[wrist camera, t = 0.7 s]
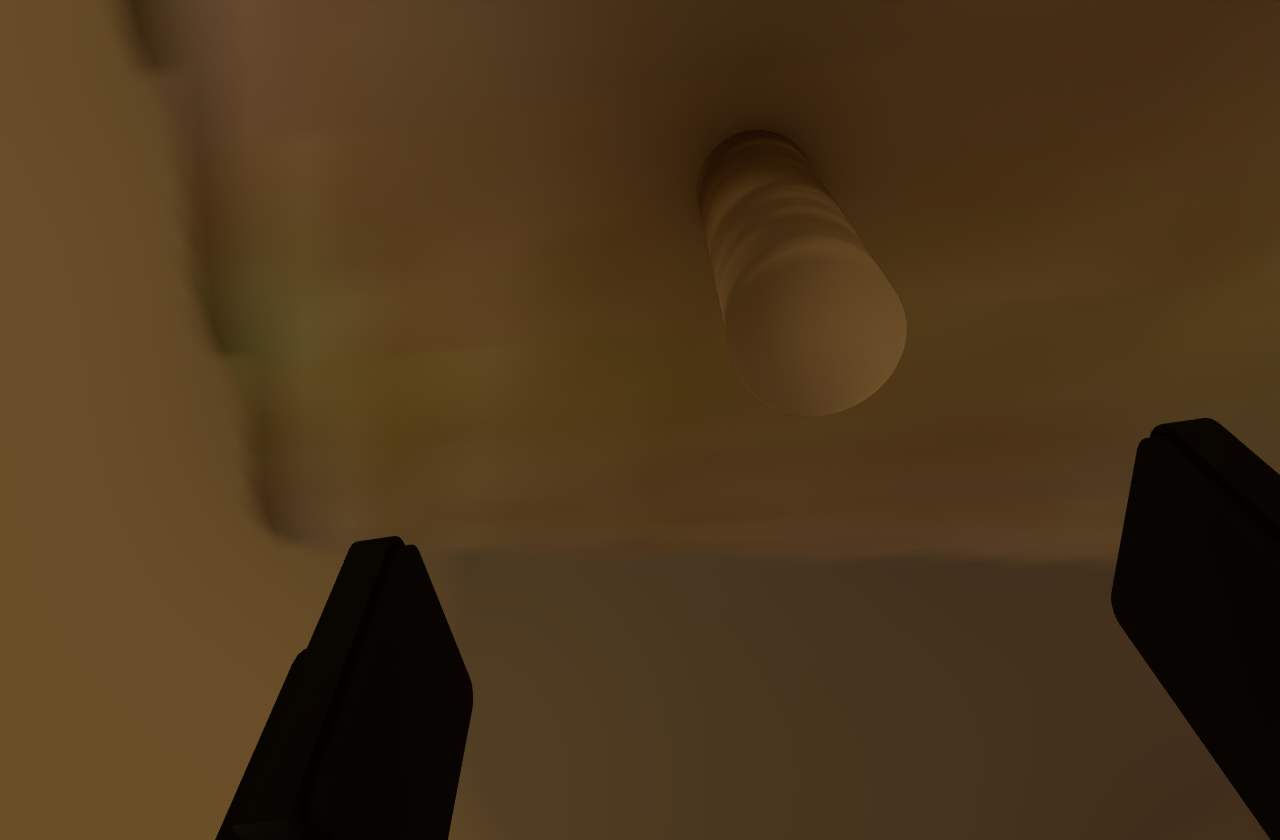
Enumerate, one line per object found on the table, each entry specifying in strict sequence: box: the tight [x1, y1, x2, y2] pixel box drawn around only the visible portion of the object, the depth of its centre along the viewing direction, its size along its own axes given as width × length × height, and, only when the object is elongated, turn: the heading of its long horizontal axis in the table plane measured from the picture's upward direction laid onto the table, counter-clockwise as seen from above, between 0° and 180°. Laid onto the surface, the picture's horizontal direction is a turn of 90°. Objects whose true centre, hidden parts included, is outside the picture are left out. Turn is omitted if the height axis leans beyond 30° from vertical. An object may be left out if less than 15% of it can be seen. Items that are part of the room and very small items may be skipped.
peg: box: [697, 130, 907, 417], centre depth 24 cm, size 4×4×12 cm
